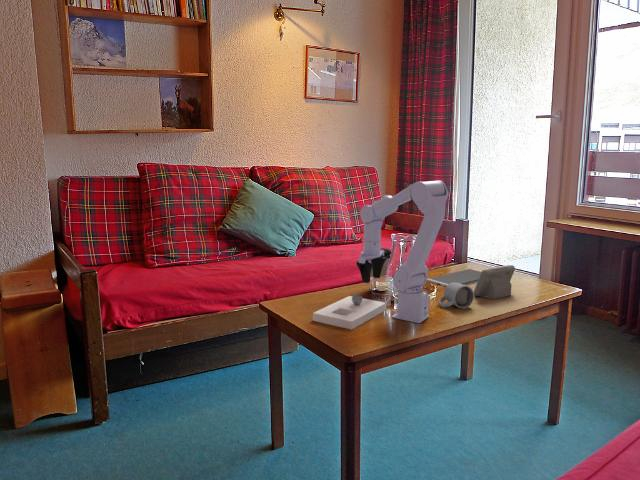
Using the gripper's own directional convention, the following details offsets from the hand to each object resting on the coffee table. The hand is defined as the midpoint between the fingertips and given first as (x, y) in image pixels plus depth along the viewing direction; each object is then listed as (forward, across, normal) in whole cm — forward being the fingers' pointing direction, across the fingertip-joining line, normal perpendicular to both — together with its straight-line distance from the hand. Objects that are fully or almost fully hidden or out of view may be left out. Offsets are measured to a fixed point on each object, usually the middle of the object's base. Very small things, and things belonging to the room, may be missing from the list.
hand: (371, 280), depth 183 cm
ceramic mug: (+9, -14, +24) cm, 30 cm away
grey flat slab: (+9, -49, +15) cm, 52 cm away
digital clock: (+9, -35, +32) cm, 48 cm away
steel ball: (+4, +10, 0) cm, 11 cm away
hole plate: (+8, +14, 0) cm, 17 cm away
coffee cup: (+9, -17, -6) cm, 20 cm away
